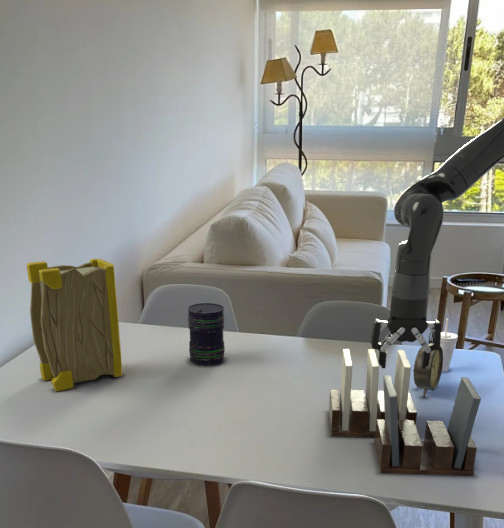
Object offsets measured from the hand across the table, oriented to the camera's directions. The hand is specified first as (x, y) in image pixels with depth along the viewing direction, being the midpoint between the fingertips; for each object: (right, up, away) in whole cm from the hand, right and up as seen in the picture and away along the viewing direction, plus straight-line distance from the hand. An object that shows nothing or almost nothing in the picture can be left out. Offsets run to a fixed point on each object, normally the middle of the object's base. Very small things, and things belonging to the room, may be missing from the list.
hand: (402, 367), depth 152 cm
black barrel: (-45, +6, +45) cm, 64 cm away
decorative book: (-77, 0, +32) cm, 83 cm away
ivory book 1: (-12, -11, +6) cm, 18 cm away
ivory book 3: (0, -12, +6) cm, 13 cm away
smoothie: (+19, +3, +39) cm, 43 cm away
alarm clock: (+11, -4, +25) cm, 27 cm away
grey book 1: (-4, -18, -9) cm, 21 cm away
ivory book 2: (-6, -11, +6) cm, 14 cm away
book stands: (-2, -16, -1) cm, 16 cm away
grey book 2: (+8, -19, -9) cm, 22 cm away
